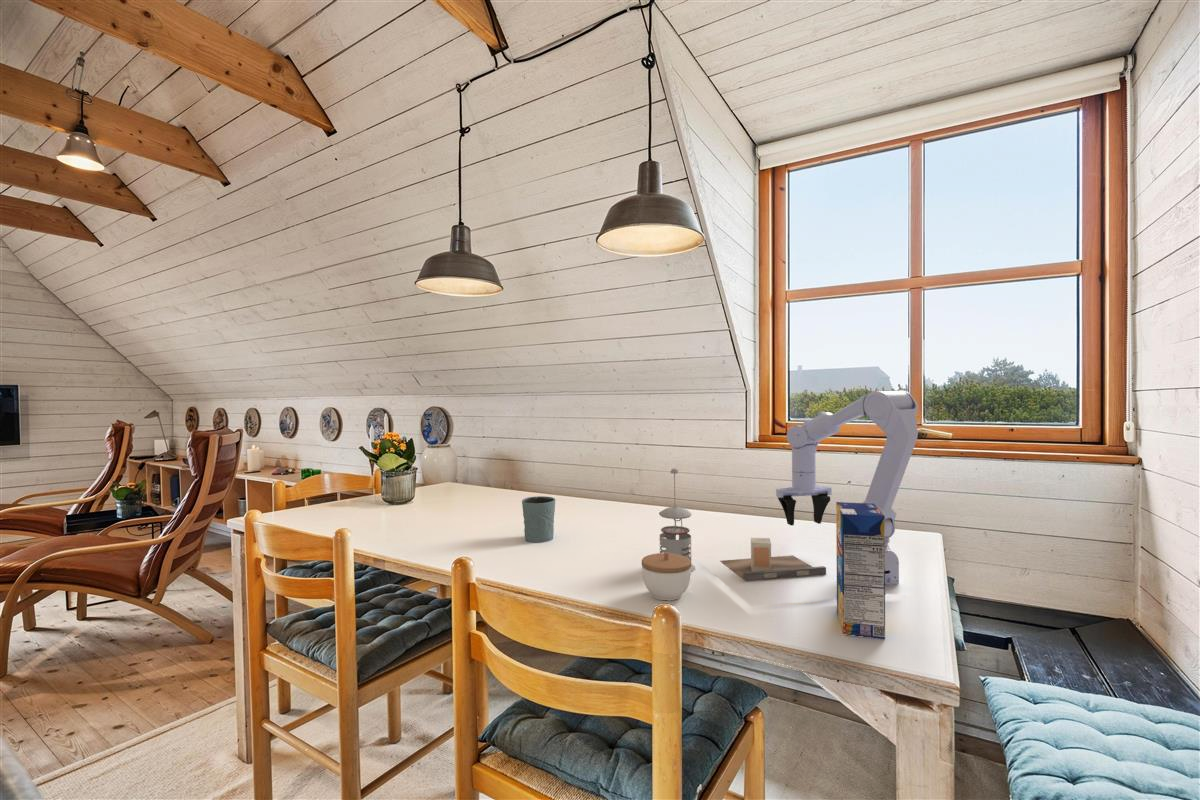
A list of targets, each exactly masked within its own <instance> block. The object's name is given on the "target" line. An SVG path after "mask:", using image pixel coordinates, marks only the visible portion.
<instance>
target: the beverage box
mask: <svg viewBox="0 0 1200 800" xmlns="http://www.w3.org/2000/svg"><path fill="white" fill-rule="evenodd" d="M835 504H836V505H835V507H836V508H835V509H836V513H835V517H836V521H835V522H836V523H835V524H836V525H835V527H836V530H835V532H836V539H835V540H836V614H837V617H838V621H839V624H840V628H841V632H842V635H843V634H847V635H846V636H849V635H855V636H854V637H858V636H863V637H862V638H867V637H869V638H868V639H876V638H877V639H876V640H886V585H885V516H884V515H883V514H882V512H881V511H880V510H879V509H878V508H877V506H876V505H875V504H870V503H863V502H843V501H836V502H835ZM870 637H871V638H870Z"/></svg>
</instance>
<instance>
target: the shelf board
mask: <svg viewBox="0 0 1200 800" xmlns="http://www.w3.org/2000/svg"><path fill="white" fill-rule="evenodd" d="M719 562H720V563H721V564H723V565H724V566H725V567H727V568H729V570H731V571H732V572H733V573H735V574H736V575H737V576H738V577H740V578H741V579H742V580H743V581H745V582H750V581H764V580H775V579H787V578H788V579H790V578H799V577H802V578H803V577H812V576H813V577H814V576H824V575H827V567H826V566H824V565H822V566H821V565H818V566H812V565H810V564H808V563H807V562H805V561H804V560H801V559H800V558H799V557H797V556H795V555H792V554H791V555H780V556H779V555H778V556H771V570H768V571H755V572H752V569H751V557H750V558H739V559H726V560H719Z"/></svg>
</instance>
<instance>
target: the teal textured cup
mask: <svg viewBox="0 0 1200 800" xmlns="http://www.w3.org/2000/svg"><path fill="white" fill-rule="evenodd" d="M521 505H522V506H521V507H522V516H523V524H524V525H523V526H524V529H523V530H524V531H523V532H524V539H525V541H526V542H529V543H535V544H537V543H538V544H539V543H547V542H551V541H552V540H554V532H555V531H554V530H555V529H554V528H555V525H554V523H555V512H556V510H555V509H556V498H555V497H552V496H542V495H541V496H540V495H539V496H538V495H537V496H528V497H526V498H523V499H522V500H521Z"/></svg>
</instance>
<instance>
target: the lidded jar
mask: <svg viewBox="0 0 1200 800" xmlns="http://www.w3.org/2000/svg"><path fill="white" fill-rule="evenodd" d="M691 564H692V559H691V560H690V559H689V558H688V557H686V556H683V555H679V554H672V553H668V552H664V553H660V552H659V553H652V554H647V555H646V556H644V557H643V558H642V559H641V573H642V579H643V583H644V585H645V587H646V589H647V591H648V592H649V593H651V595H652V597H653V598H654V599H657V600H659V601H663V600H668V601H667V602H669V601H671V600H672V601H676V600H675V599H677V600H679V599H681V597H682V595H683V594H684V593H685V592H686V591H687V590H688V587H689V586H690V582H691V576H692V572H691ZM678 598H679V599H678ZM672 601H671V602H672Z"/></svg>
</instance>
